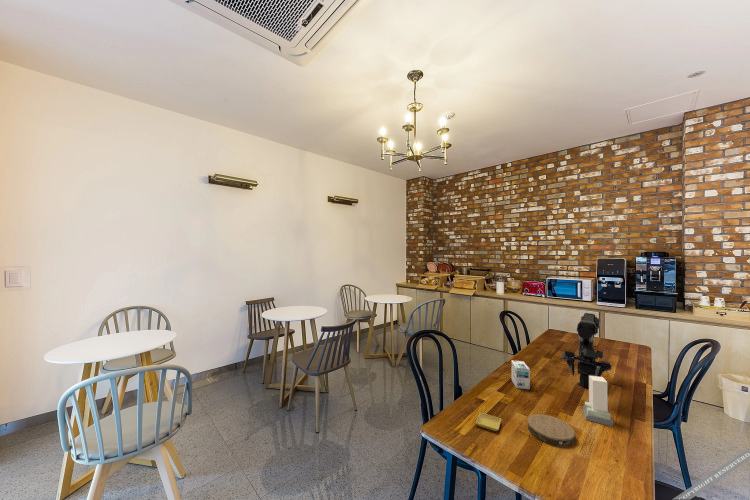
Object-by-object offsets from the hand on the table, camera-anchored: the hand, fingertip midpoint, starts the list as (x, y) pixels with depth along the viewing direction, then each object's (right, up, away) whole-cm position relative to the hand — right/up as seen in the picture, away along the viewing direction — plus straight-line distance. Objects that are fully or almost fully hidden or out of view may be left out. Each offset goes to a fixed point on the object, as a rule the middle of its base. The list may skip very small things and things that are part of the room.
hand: (584, 378), depth 134 cm
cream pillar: (-2, -7, -11) cm, 13 cm away
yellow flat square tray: (-51, -12, -16) cm, 55 cm away
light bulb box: (-20, -12, +19) cm, 30 cm away
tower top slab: (-3, -10, -11) cm, 15 cm away
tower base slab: (-2, -13, -11) cm, 17 cm away
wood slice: (-29, -12, -21) cm, 38 cm away
